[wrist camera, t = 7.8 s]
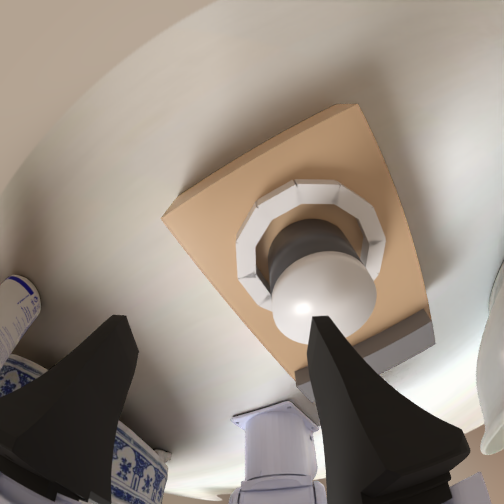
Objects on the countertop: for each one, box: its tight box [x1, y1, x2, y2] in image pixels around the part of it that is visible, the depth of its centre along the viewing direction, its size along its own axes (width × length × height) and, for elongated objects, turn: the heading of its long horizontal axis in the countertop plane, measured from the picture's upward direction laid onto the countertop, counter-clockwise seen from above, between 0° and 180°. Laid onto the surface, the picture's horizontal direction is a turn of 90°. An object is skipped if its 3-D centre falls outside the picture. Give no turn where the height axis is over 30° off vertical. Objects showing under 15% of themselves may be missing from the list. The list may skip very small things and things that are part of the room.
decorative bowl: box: [0, 354, 171, 504], centre depth 27 cm, size 42×27×15 cm, turn 13°
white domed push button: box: [268, 219, 377, 345], centre depth 14 cm, size 5×5×4 cm
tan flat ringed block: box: [161, 104, 435, 402], centre depth 19 cm, size 18×12×6 cm, turn 31°
